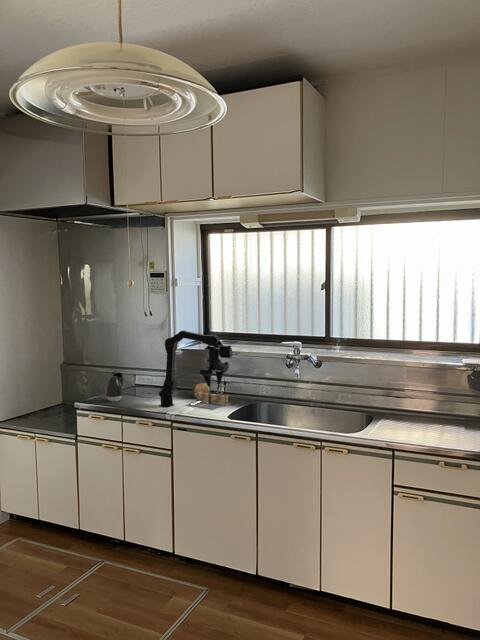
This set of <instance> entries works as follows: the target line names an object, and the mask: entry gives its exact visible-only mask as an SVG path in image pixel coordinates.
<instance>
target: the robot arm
mask: <svg viewBox="0 0 480 640" xmlns="http://www.w3.org/2000/svg"><path fill="white" fill-rule="evenodd" d="M183 339H187V340H192V341H196V342H201V343H203V344H205V345H207V346H206V347H205V348H204V350H206V351H208V359H206V361H207V362H208V366H207V367H205V368H200V370H199V375H201V376H202V377H203V379H204V381H205V383H207V385H208V386H209V387H210V388H211V382H212V381H211V379H212V376H213V373H214V372H215V376H216V380H217V384H218V385H220V384H221V382H222V379H223V376H224V375H225V374H226V373H227V371H228V370H229V369H230V364H229V363H230V362H229V361H225V362H222V360H221V359H220V358H222V359H231V358H233V353H234V352H233V348H232V345H224V344H223V343H222V342H221V340H220V337H219V335H217V334H201V333H196V332H191V331H187V330H180V331H179V332H177V333H176V334H175V335H173V336H171V337H168V338H166V339H165V340H164V348H165V352H166V366H165V367H166V368H165V370H166V371H165V379H164V381H163V385H162V389H161V390H160V391H159V392H158V395H159V397H160V404H159V405H158V407H164V408H169V407H172V406H175V404H174V402H173V401H174V400H173V394H174V391H176V389H177V388H178V385H177V383H178V380H176V379H175V360H176V351H177V349H178V346H179V343H180V342H181V341H182V340H183Z"/></svg>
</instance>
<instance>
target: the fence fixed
mask: <svg viewBox="0 0 480 640" xmlns="http://www.w3.org/2000/svg"><path fill="white" fill-rule="evenodd" d="M211 394H212V393H211V392H210V393H209V394H207V393H200V392H197V398H196V402H197V401H207V402H209V403H212V402H211Z"/></svg>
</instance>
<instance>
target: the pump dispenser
mask: <svg viewBox="0 0 480 640" xmlns="http://www.w3.org/2000/svg"><path fill="white" fill-rule="evenodd" d="M123 378H124V377H118V376H116V375H112V376H110V378H108V381H107V384H106V388H105V397H106V399H107V400H108V401H109V402H111V403H112V402H113V403H115V402H119V401H121V400H122V398H123V396H124V391H123V386H122V383H121V380H123Z"/></svg>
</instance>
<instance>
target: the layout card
mask: <svg viewBox="0 0 480 640" xmlns="http://www.w3.org/2000/svg"><path fill="white" fill-rule="evenodd" d="M191 403H192V402H190V403H186V405H188V406H187V407H191V406H194V407H193V408H198V409H205V410H206V409H207V410H211V411H212V410H213V411H214V410H216V409H221V408H223V407H225V406H229V405H230V403H228V404H221V403H214V402H212V403H209V402H207V401H201V402H200V403H197V404H195V405H191Z"/></svg>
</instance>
